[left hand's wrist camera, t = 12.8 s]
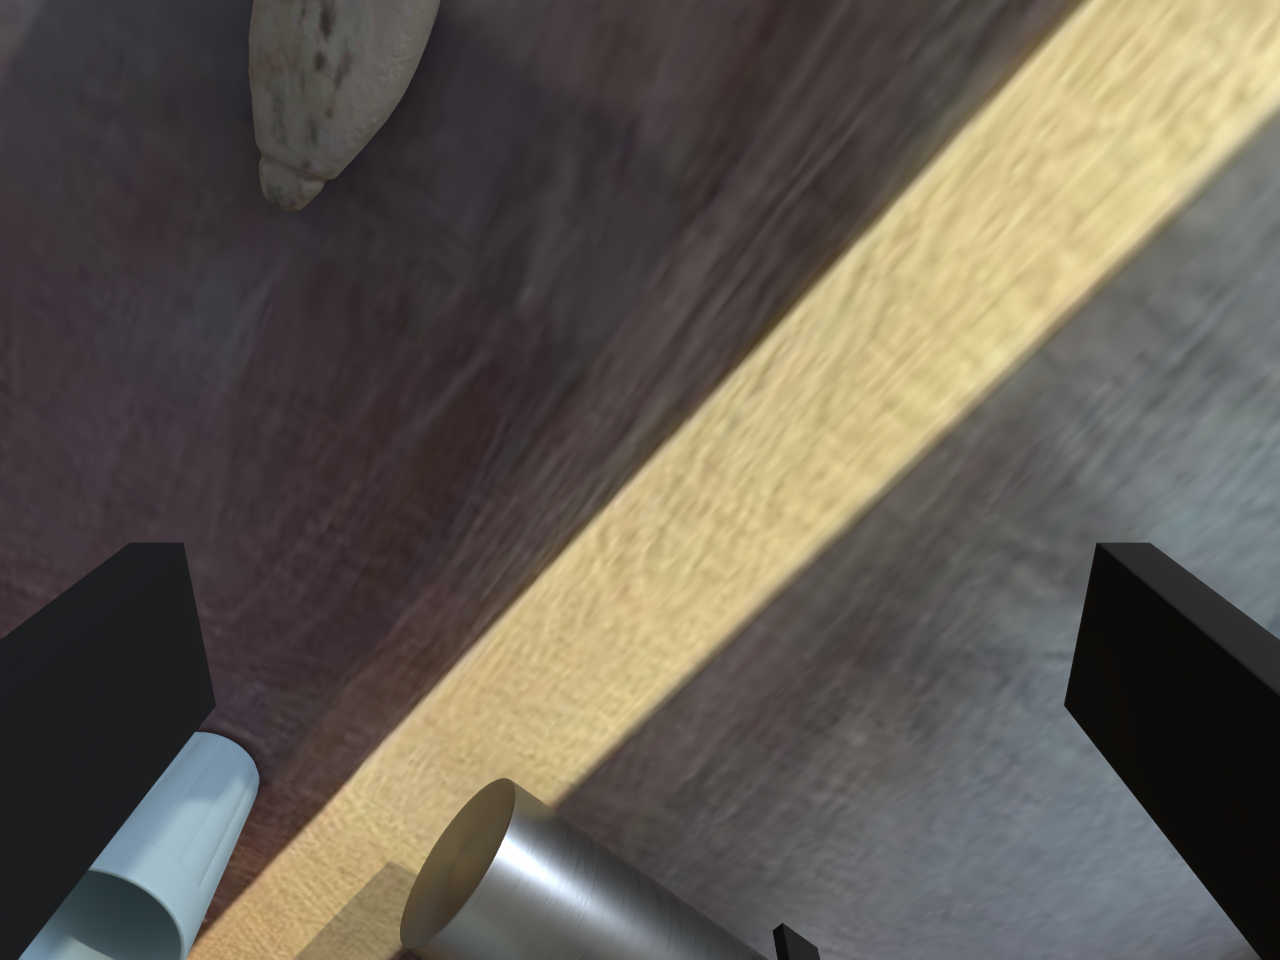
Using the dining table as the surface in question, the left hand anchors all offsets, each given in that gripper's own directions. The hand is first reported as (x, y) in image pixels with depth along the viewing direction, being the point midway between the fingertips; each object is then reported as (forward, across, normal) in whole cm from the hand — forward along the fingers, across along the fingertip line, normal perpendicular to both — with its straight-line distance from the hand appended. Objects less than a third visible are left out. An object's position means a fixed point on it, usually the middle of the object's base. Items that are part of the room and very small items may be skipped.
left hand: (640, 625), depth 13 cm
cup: (+27, -23, -24) cm, 43 cm away
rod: (+25, 0, -32) cm, 40 cm away
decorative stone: (+27, -11, +12) cm, 31 cm away
